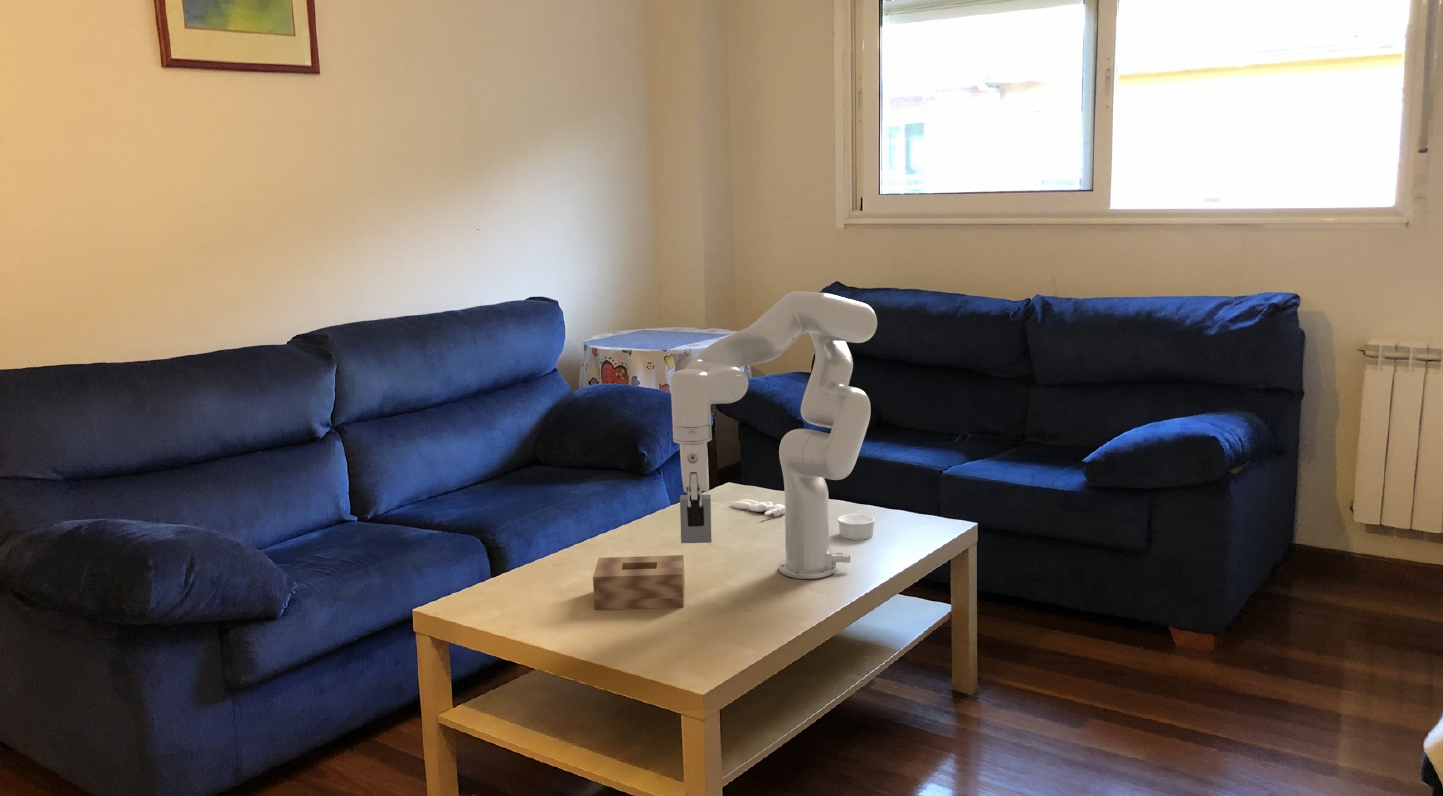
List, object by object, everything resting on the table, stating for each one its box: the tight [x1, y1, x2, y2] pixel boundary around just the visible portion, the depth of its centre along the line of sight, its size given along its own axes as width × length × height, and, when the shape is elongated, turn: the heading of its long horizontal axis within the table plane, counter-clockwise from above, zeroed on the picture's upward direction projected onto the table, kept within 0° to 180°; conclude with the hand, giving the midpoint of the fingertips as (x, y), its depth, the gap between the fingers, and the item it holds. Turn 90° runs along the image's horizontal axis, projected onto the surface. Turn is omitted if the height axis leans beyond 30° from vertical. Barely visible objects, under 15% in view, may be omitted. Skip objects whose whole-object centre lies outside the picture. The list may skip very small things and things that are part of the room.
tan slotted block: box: [592, 554, 686, 611], centre depth 228 cm, size 18×12×7 cm, turn 91°
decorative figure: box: [730, 498, 785, 517], centre depth 289 cm, size 4×12×18 cm
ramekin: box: [837, 513, 876, 541], centre depth 266 cm, size 9×9×4 cm
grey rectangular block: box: [679, 494, 712, 544], centre depth 218 cm, size 6×3×9 cm, turn 91°
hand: (696, 522), depth 218 cm, fingers closed on grey rectangular block, 2 cm apart
